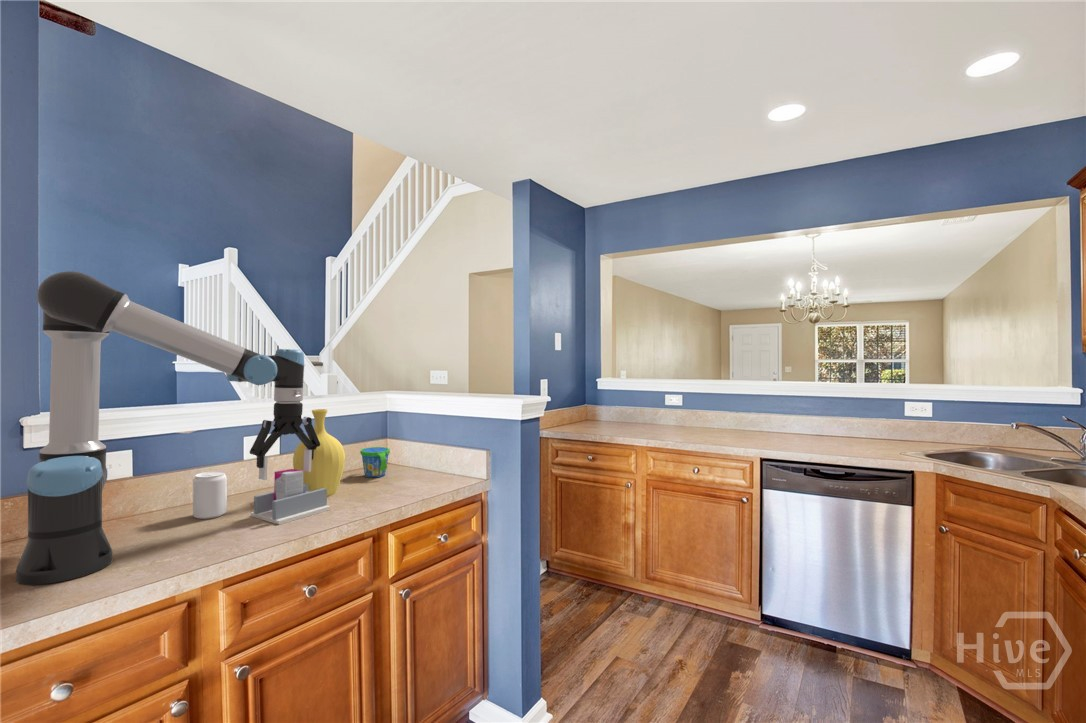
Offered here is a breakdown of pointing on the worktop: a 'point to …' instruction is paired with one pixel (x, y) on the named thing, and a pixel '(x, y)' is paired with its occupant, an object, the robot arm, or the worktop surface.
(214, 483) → the beverage can
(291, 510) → the slot cradle
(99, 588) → the worktop surface
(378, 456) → the snack cup
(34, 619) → the worktop surface
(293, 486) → the supplement box
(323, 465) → the vase
